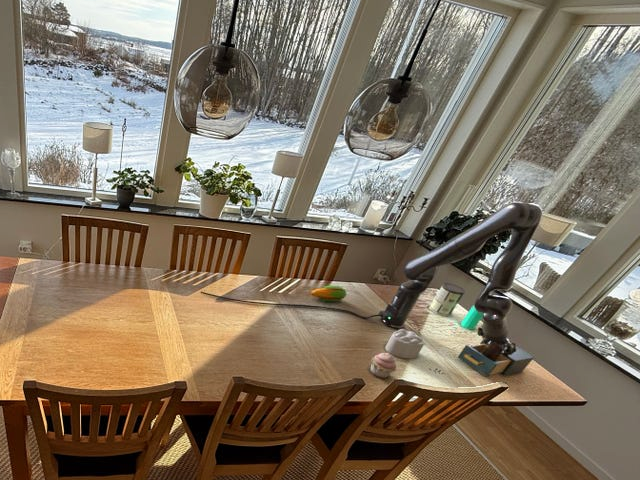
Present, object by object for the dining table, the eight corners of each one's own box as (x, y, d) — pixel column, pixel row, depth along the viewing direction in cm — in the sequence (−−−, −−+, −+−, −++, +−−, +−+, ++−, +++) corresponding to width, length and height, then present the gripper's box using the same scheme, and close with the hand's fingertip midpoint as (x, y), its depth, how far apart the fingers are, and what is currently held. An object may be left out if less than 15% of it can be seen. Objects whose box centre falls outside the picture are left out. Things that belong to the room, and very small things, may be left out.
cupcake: (364, 362, 163) (375, 343, 157) (388, 369, 161) (399, 349, 155) (367, 376, 155) (378, 356, 149) (392, 383, 153) (405, 363, 148)
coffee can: (440, 306, 216) (454, 283, 208) (454, 316, 208) (470, 293, 200) (424, 305, 214) (438, 282, 206) (438, 316, 206) (453, 292, 198)
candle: (476, 330, 198) (490, 310, 191) (463, 328, 198) (477, 307, 192) (470, 324, 203) (484, 304, 196) (458, 321, 203) (471, 301, 197)
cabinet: (503, 376, 167) (515, 360, 163) (471, 355, 178) (482, 340, 174) (521, 372, 171) (534, 357, 167) (489, 352, 182) (500, 337, 178)
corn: (352, 290, 200) (317, 289, 196) (347, 303, 204) (312, 303, 200) (344, 284, 207) (309, 283, 202) (339, 297, 210) (305, 296, 206)
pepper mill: (486, 367, 168) (507, 340, 160) (474, 359, 172) (494, 332, 164) (494, 365, 170) (515, 338, 161) (482, 358, 173) (502, 331, 165)
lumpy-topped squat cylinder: (420, 357, 171) (430, 341, 166) (395, 358, 168) (405, 342, 163) (403, 343, 179) (412, 327, 174) (379, 344, 176) (388, 328, 171)
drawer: (479, 378, 162) (489, 365, 159) (451, 358, 172) (459, 345, 169) (503, 373, 168) (513, 361, 164) (475, 354, 178) (483, 342, 174)
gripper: (470, 324, 162) (473, 344, 172) (504, 345, 151) (505, 364, 162) (486, 312, 161) (488, 332, 171) (522, 332, 150) (522, 353, 160)
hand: (496, 348), depth 166 cm, fingers open, 8 cm apart
